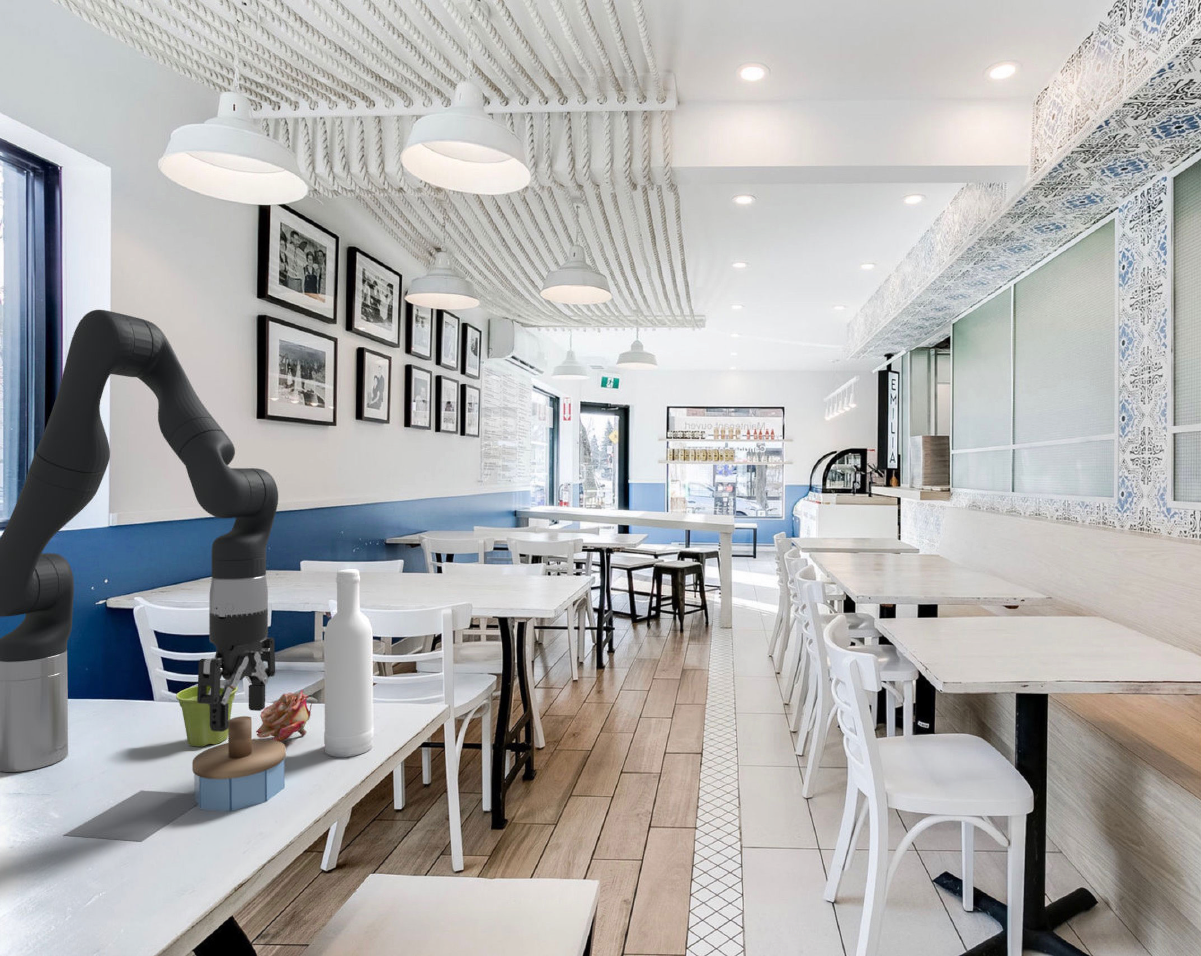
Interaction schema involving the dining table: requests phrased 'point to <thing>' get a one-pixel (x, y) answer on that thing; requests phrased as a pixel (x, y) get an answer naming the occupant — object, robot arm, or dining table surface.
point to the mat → (137, 816)
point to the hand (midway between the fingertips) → (238, 719)
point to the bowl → (239, 789)
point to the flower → (285, 717)
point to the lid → (239, 754)
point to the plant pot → (201, 717)
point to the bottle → (348, 673)
